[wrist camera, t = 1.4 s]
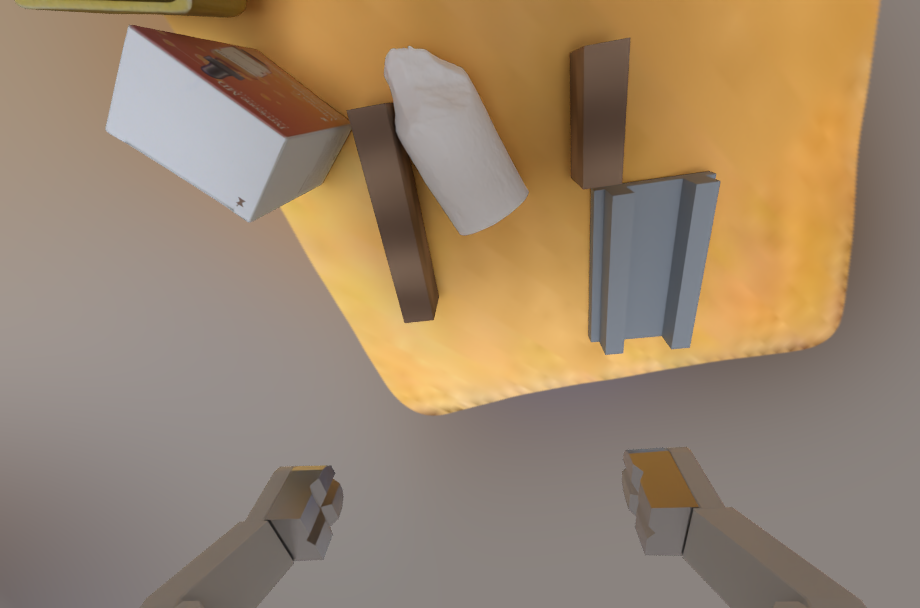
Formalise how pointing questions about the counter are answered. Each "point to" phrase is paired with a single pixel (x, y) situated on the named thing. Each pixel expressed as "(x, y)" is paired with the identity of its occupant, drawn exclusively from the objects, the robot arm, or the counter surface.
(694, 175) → the cradle
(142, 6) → the flower pot
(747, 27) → the counter surface
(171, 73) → the small box
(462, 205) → the roll
